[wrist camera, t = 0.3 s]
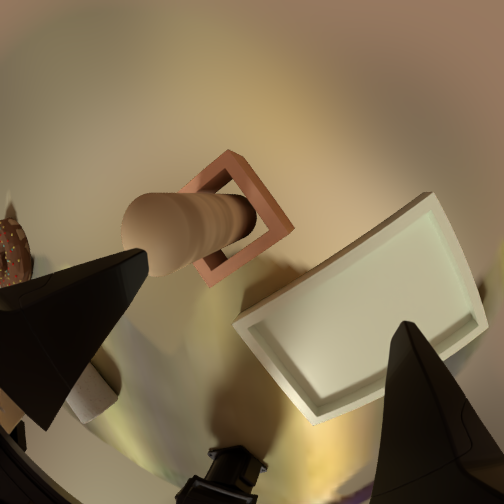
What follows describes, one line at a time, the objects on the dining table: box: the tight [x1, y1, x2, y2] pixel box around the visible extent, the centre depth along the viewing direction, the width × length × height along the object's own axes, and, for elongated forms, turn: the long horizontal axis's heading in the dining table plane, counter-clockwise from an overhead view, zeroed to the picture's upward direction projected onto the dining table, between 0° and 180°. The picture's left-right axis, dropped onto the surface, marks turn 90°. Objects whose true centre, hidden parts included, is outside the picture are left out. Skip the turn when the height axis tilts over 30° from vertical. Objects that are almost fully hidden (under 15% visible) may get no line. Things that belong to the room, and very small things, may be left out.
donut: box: [0, 218, 32, 288], centre depth 33 cm, size 14×14×5 cm
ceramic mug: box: [66, 362, 118, 424], centre depth 32 cm, size 11×8×8 cm
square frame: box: [177, 150, 295, 288], centre depth 22 cm, size 8×8×4 cm
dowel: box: [121, 193, 257, 277], centre depth 18 cm, size 4×4×12 cm
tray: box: [232, 192, 489, 426], centre depth 22 cm, size 20×14×2 cm
